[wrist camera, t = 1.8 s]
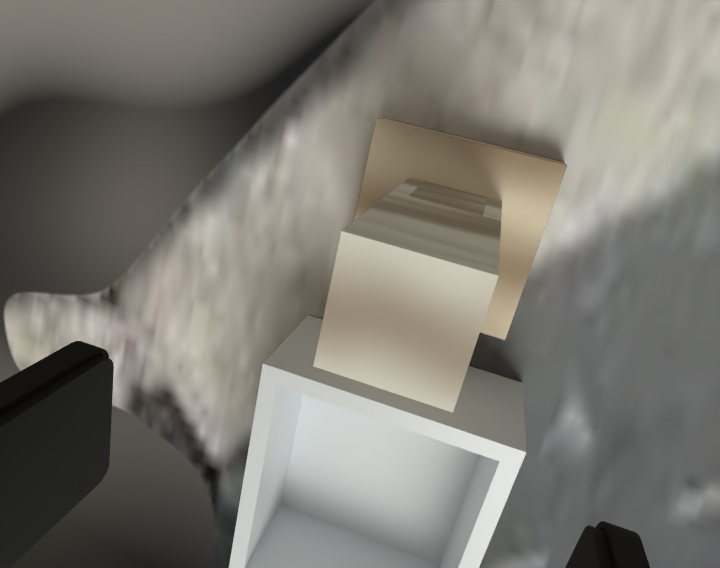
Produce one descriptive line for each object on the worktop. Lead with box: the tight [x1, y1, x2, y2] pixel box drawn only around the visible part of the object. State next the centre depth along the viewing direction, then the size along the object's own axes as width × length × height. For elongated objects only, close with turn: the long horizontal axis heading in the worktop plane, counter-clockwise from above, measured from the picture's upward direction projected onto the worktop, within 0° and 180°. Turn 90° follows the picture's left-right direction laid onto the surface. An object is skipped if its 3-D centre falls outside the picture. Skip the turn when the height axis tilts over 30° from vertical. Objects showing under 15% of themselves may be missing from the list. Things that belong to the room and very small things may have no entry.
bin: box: [229, 315, 526, 568], centre depth 33 cm, size 16×14×7 cm
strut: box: [313, 177, 502, 413], centre depth 23 cm, size 5×5×13 cm
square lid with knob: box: [354, 118, 567, 340], centre depth 28 cm, size 10×10×6 cm
